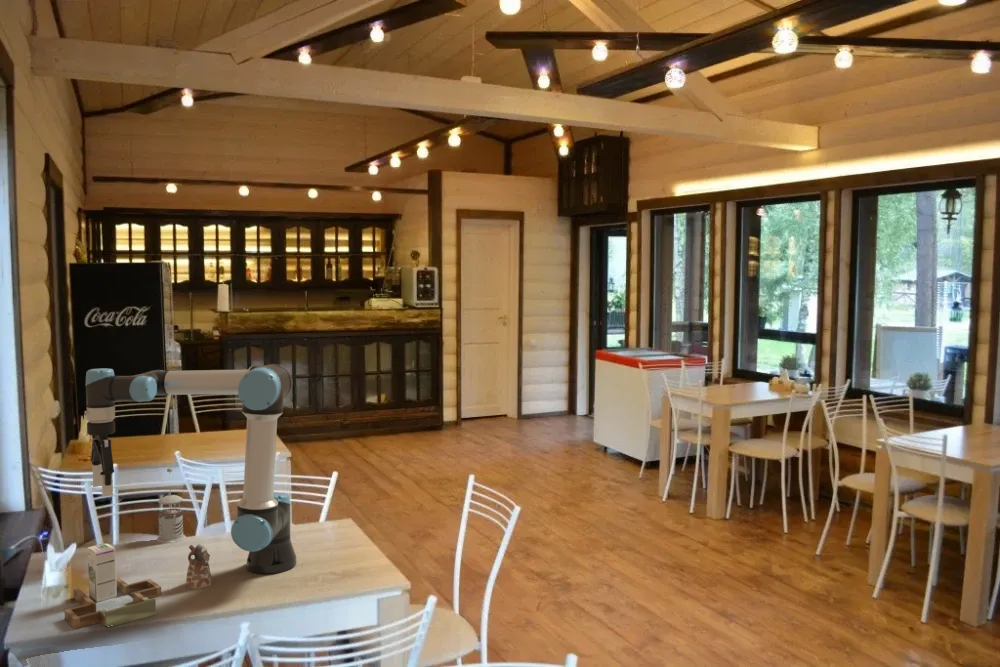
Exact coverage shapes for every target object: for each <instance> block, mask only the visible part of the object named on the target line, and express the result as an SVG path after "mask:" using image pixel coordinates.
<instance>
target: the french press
mask: <svg viewBox="0 0 1000 667" xmlns="http://www.w3.org/2000/svg"><path fill="white" fill-rule="evenodd" d="M166 472H167V473H172V472H174V470H173V467H168V468H166ZM171 490H172V489H171V488H169V494H168V495H164V496H163V497H160V498H159V499H158V500H157V502H158V503H159V504H161V505H169V508H166V509H162V510H160V511H159V515H158V537H157V538H156V540H155V541H156V543H159V544H174V543H175V542H173V543H172V542H170V541H179V542H181V540H182V541H183V538H186V539H187V536H186V535H185V534H184V526H183V525H184V523H183V522H184V519H183V517H184V515H183V513H182V509H181V505H180V503H181V502H183V500H184V498H183V497H181V496H179V495H176V494H171ZM172 505H173V506H174V507H175V508H172ZM176 505H178V508H177V507H176Z"/></svg>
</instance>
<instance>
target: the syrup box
mask: <svg viewBox="0 0 1000 667" xmlns="http://www.w3.org/2000/svg"><path fill="white" fill-rule="evenodd" d="M116 562H117V561H116V548H115V547H114V546H113V545H111V544H109V543H107V542H105V543H100V544H95V545H92V546H89V547H87V567H88V570H87V571H88V592H89V596H88V597H89V598H90V599H91V600H93V601H94V602H95V603H98V602H102V601H106V600H110V599H113V598H116V597H118V593H117V591H118V589H117V585H116V579H117V567H116V566H117V565H116Z"/></svg>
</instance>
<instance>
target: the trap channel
mask: <svg viewBox="0 0 1000 667" xmlns="http://www.w3.org/2000/svg"><path fill="white" fill-rule="evenodd" d="M116 585H117V591H119V592H121V593H122V594H123V595H125V596H128V595H129V596H131V597H132V602H133V603H131V604H128V605H124V606H120V607H117V608H113V609H109V610H106V609H105V608H100V609H98V611H97V602H96V601H95V600H94V599H92V598H91V597H90V596H88V595H87V594H86V593H85V592H83V590H81V589H80V588H79V587H76V588H73V599H75V601H77V602H78V603H79V604H80V605H78V606H75V607H70V608H67V609H64V620H65V621H66V622H67V623H68V624H69V625H70V626H71V627H72V628H73V629H74V630H77V629H79V628H83V627H87V625H88V626H91V625H94V624H93V623H95V624H98V623H97V622H99V623H101V622H102V623H103V624H104V625H105V626H107V627H108V626H111V625H116V626H118V625H117V624H119V625H123V624H125V623H130V622H133V621H137V620H141V619H144V618H147V617H151V616H154V615H156V614H157V610H156V609H157V608H156V606H157V605H156V603H157V602H156V599H155V598H157V597H161V596H162V586H160V585H159V584H158V583H156V582H155V581H153V580H152V579H150V578H149V579H144V580H141V581H136V582H133V583H129V584H128V583H127V582H126V581H125V580H123V579H122V578H120V577H119V578H118V577H116ZM100 621H101V622H100ZM102 623H101V624H102ZM90 624H91V625H90ZM103 624H102V625H103ZM104 625H103V626H104ZM105 626H104V627H105ZM107 627H106V628H107Z"/></svg>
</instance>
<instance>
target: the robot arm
mask: <svg viewBox="0 0 1000 667" xmlns="http://www.w3.org/2000/svg"><path fill="white" fill-rule="evenodd" d="M85 373H86V376H85V385H84V386H85V394H86V395H85V397H86V399H85V400H86V410H84V415H86V420H87V423H86V434H87V435H89V436H91V437H92V442H91V452H90V462H91V465H92V466H91V467H92V488H97V487H101V495H102V496H101V497H102V498H104V497H105V498H106V497H112V496H113V495H114V489H113V488H114V484H113V474H114V473H115V468H114V460H113V451H112V440H111V439H109V438H108V436H109V435H112V434H114V433H116V421H115V419H116V406H115V404H116V403H115V402H138V403H142V402H150V401H153V400H154V398H155V397H156V396H171V395H173V396H177V395H178V396H180V395H181V396H182V395H189V396H190V395H238V398H239V399H238V400H239V401H240V402H241V406H242V408H241V413H242V414H243V415H244V416H245V417H246V435H245V454H244V456H245V457H244V476H243V493H242V496H243V497H242V498H241V499H240V500H239V501H237V505H236V508H237V510H236V519H235V520H234V521H233V524H232V525H231V529H230V534H231V539H232V541H233V543H234V544H235V545H236V546H237V547H238V548H239V549H241V550H244V551H247V552H249V553H248V555H247V560H246V570H248V571H249V572H251V573H253V574H254V573H256V574H263V575H264V574H265V575H266V574H277V573H281V572H286V571H288V570H291V569H293V568H294V567H295V566H296V565H297V555H296V553H295V549H294V547H293V543H292V540H291V505H292V504H291V499H290V495H289V494H287V493H285V492H274V490H275V487H274V486H275V472H276V471H275V467H276V452H277V451H276V449H277V434H278V433H277V431H278V429H277V428H278V418H280V417H281V416H282V414H283V413H284V401H285V400H284V399H285V398H287V396H289V394H290V392H291V391H292V388H293V376H292V374H291V372H290V371H289V370H288V369H287V368H286V367H284V366H282V365H280V364H276V363H271V364H270V363H269V364H266V365H254V366H253V365H252V366H250V367H249V368H248V369H209V370H208V369H207V370H205V369H203V370H202V369H201V370H162V369H155V370H154V369H153V370H150V371H146V372H143V373H140V374H135V375H115V371H114V369H113V368H105V367H104V368H91V369H88V370H87V371H86V372H85Z"/></svg>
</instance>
